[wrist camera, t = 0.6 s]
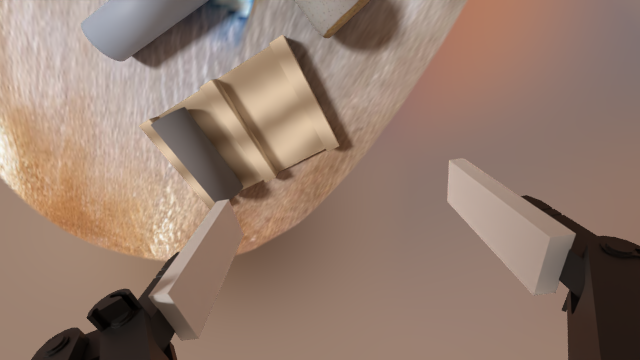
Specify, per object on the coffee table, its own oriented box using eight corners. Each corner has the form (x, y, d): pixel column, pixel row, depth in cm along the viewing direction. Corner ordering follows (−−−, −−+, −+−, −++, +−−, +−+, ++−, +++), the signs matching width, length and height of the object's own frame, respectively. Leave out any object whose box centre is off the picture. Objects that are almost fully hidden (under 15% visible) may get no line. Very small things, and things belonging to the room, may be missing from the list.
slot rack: (150, 121, 37) (138, 125, 34) (285, 37, 32) (282, 34, 30) (216, 202, 43) (210, 210, 40) (338, 141, 38) (339, 146, 36)
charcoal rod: (160, 122, 36) (143, 127, 31) (189, 106, 36) (177, 108, 31) (219, 196, 41) (212, 209, 36) (245, 181, 41) (241, 193, 36)
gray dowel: (134, 59, 33) (109, 63, 29) (101, 21, 31) (69, 19, 27) (214, 2, 31) (200, -3, 26) (185, -45, 28) (165, -59, 24)
